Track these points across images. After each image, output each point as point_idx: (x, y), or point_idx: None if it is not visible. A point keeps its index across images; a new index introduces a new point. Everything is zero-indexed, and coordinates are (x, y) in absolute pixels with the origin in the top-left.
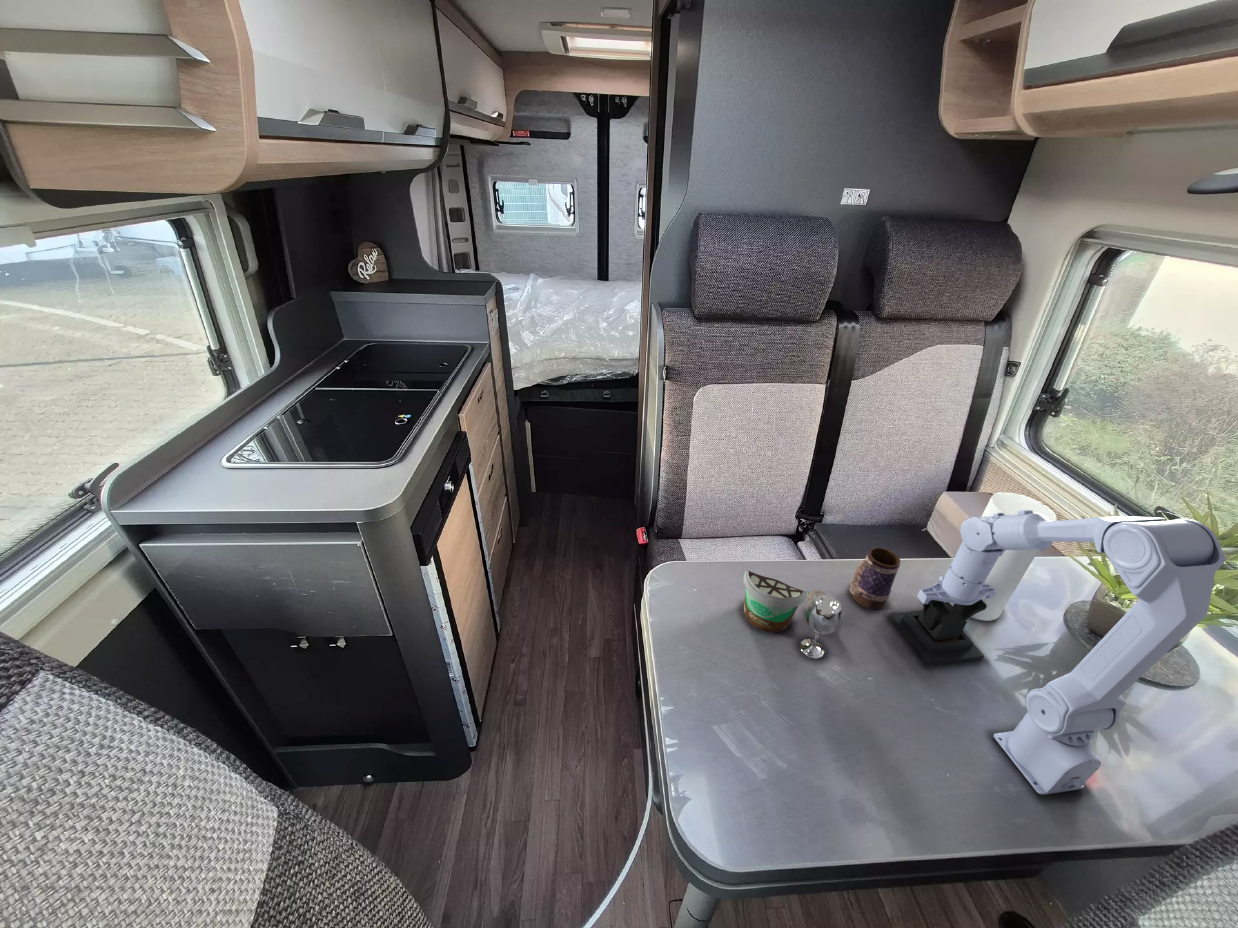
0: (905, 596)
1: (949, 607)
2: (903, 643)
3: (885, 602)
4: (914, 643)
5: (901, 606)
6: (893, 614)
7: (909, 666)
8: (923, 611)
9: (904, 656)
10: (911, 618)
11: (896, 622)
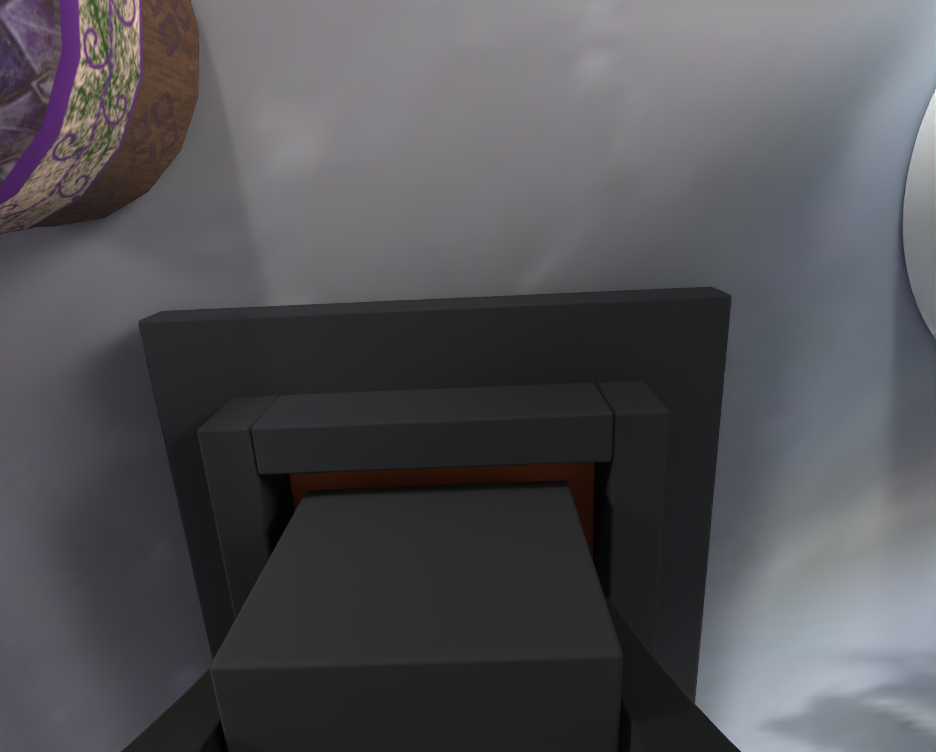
0: (481, 39)
1: (545, 748)
2: (172, 573)
3: (116, 190)
4: (211, 634)
5: (355, 189)
6: (161, 342)
7: (131, 729)
8: (174, 704)
9: (130, 666)
10: (220, 508)
11: (164, 422)
